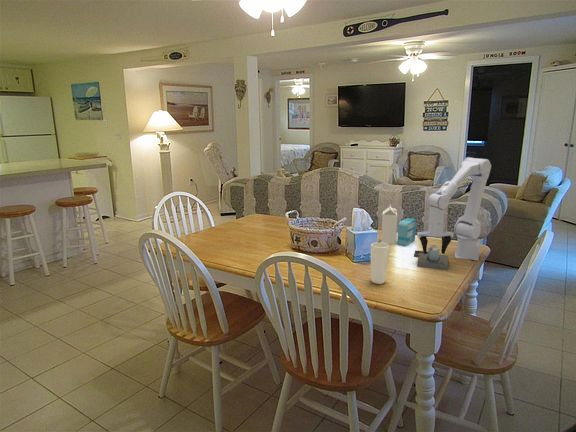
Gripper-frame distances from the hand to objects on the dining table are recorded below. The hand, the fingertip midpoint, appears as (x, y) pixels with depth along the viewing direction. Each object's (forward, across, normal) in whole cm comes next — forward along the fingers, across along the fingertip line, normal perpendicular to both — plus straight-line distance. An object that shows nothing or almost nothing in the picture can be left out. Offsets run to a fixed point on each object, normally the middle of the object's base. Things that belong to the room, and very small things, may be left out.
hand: (433, 253), depth 173 cm
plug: (+5, 0, 0) cm, 5 cm away
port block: (+5, 0, 0) cm, 5 cm away
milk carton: (+5, +13, -30) cm, 33 cm away
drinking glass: (+5, +27, +18) cm, 33 cm away
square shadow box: (+5, +2, -10) cm, 11 cm away
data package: (+5, +4, -29) cm, 30 cm away
